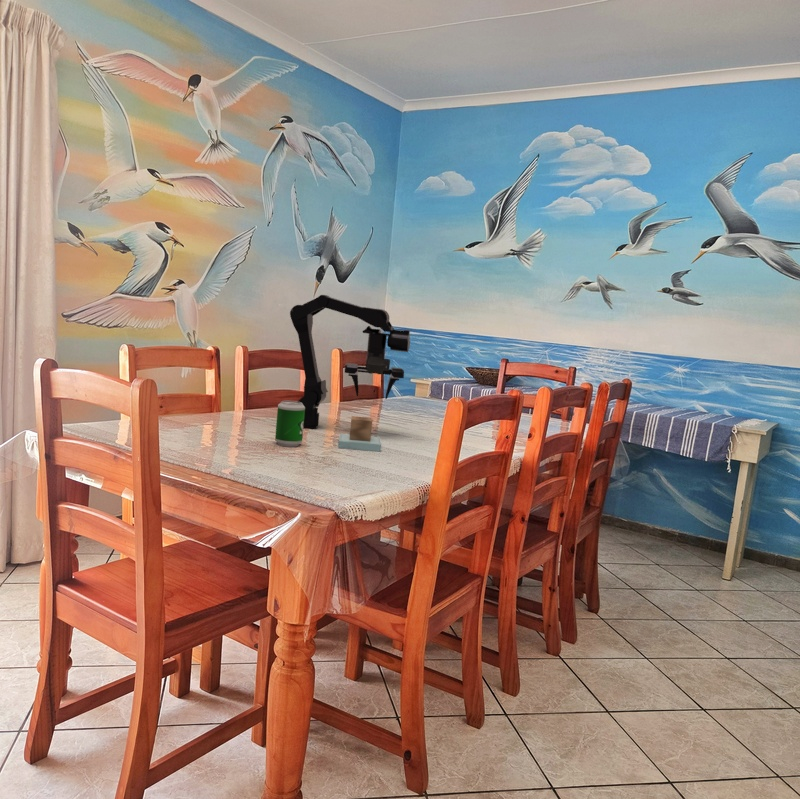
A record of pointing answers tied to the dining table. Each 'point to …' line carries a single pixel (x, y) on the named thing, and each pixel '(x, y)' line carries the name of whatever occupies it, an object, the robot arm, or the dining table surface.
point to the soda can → (290, 423)
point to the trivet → (359, 443)
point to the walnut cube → (360, 428)
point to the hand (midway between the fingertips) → (371, 397)
